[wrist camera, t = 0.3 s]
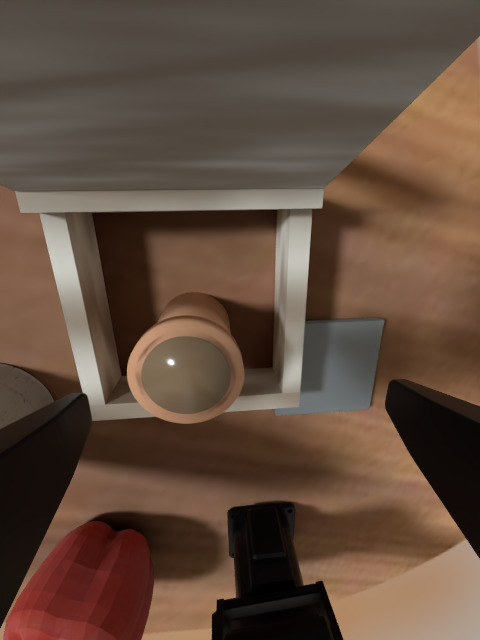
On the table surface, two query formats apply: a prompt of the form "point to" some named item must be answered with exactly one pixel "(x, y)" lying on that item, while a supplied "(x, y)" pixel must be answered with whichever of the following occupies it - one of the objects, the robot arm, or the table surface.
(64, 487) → the robot arm
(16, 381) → the thermos bottle
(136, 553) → the vegetable
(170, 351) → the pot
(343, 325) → the pad
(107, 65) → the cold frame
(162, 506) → the table surface
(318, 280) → the table surface
